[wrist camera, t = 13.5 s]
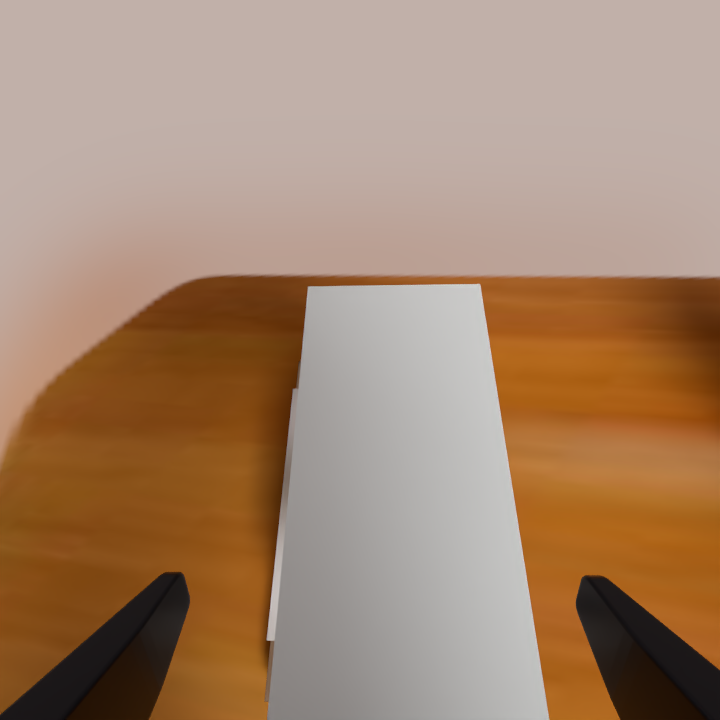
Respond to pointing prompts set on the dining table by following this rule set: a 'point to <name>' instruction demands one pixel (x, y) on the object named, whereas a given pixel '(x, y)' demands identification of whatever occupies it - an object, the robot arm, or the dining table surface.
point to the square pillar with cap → (401, 520)
